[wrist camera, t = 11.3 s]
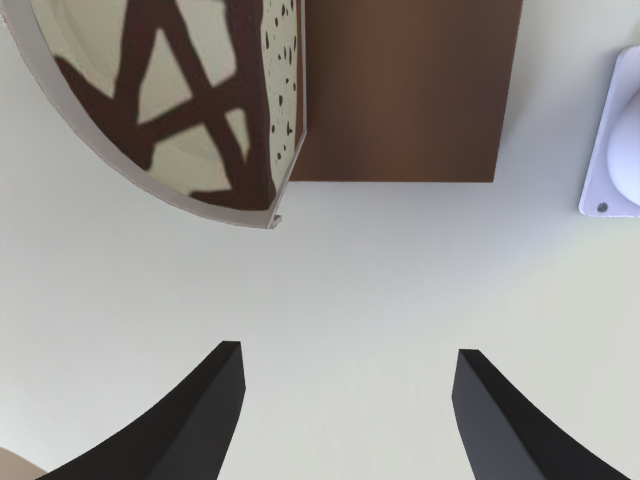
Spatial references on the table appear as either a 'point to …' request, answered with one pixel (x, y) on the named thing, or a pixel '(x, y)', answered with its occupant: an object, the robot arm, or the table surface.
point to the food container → (178, 93)
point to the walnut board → (406, 89)
